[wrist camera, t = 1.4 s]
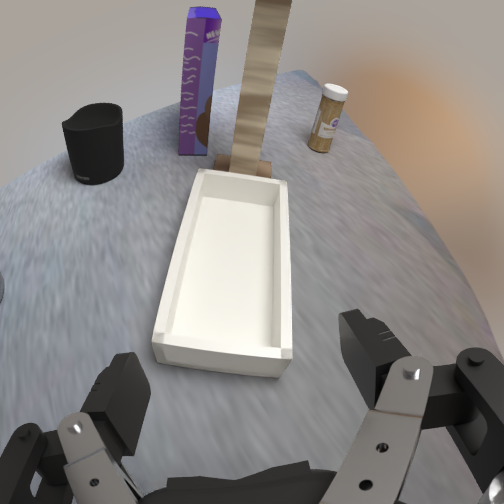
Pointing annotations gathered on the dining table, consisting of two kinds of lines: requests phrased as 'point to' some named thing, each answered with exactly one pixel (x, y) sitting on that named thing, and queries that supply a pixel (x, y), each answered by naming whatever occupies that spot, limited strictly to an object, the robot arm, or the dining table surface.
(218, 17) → the purple book
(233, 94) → the dining table surface
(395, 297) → the dining table surface
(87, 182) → the pen holder
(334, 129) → the sprinkles bottle
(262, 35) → the bracket
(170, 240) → the dining table surface
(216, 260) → the tray
